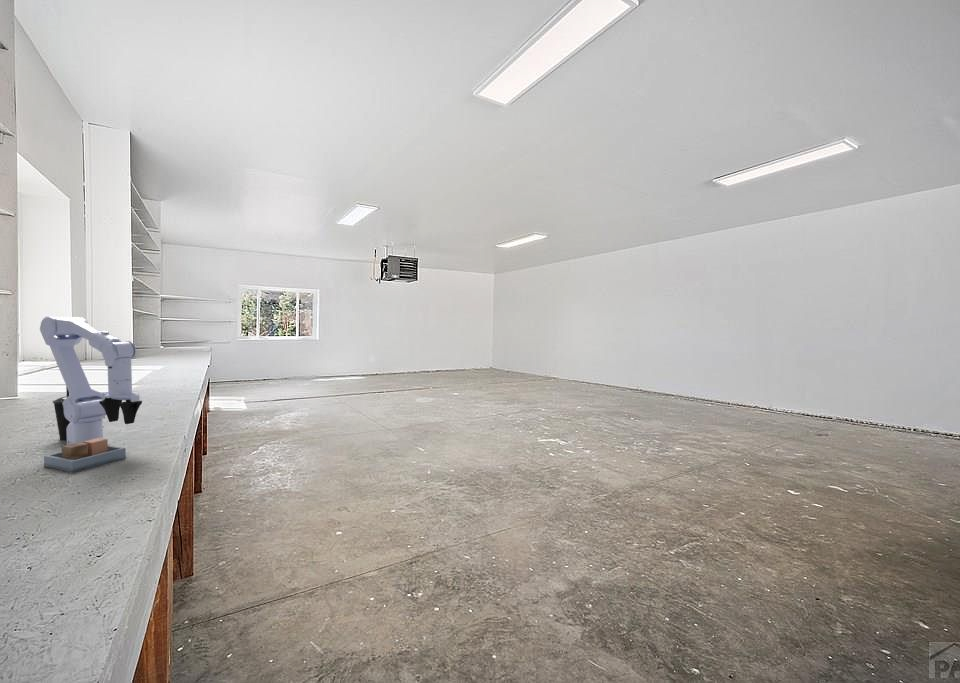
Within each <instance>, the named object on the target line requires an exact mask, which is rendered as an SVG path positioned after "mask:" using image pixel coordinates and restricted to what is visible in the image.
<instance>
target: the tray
mask: <svg viewBox="0 0 960 683" xmlns="http://www.w3.org/2000/svg"><path fill="white" fill-rule="evenodd" d="M126 453H127V452H126V448H125V447H121V446H114V445H111V444H110V445H108V452H105V453H101V454H97V455H93V456H89V457H85V458H81V459H77V460H70V459H65V458H62V451H59V452H55V453H50V454H47V455H43V464H44V466H43V467H47V468H51V469H56V470H61V471H65V472H69V473H75V472H79V471H83V470H86V469H89V468H90V469H91V468H93V467H94V468H95V467H97V466H100V465H104V464H107V463H112V462H115V461H119V460H123V459H126V458H127V454H126Z"/></svg>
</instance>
